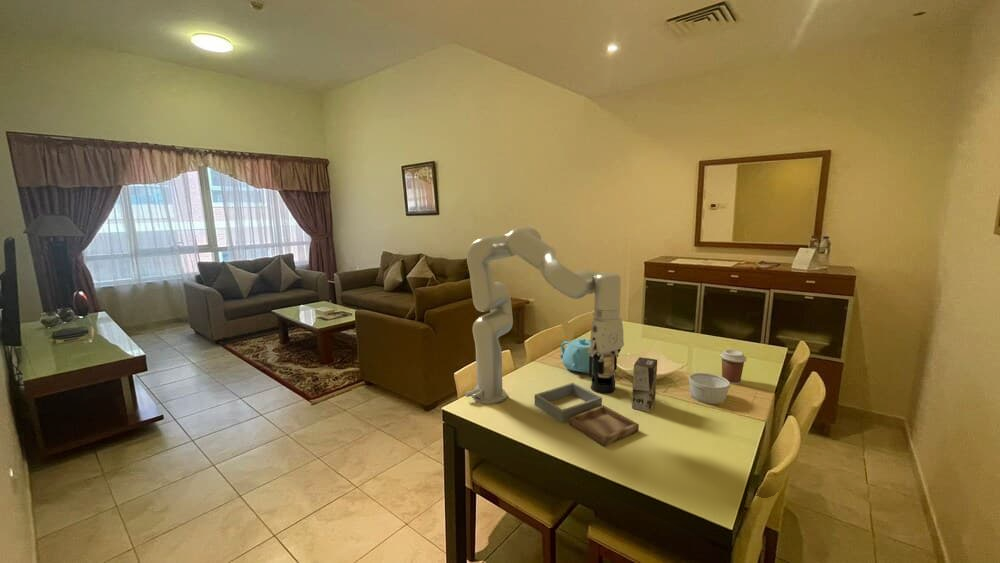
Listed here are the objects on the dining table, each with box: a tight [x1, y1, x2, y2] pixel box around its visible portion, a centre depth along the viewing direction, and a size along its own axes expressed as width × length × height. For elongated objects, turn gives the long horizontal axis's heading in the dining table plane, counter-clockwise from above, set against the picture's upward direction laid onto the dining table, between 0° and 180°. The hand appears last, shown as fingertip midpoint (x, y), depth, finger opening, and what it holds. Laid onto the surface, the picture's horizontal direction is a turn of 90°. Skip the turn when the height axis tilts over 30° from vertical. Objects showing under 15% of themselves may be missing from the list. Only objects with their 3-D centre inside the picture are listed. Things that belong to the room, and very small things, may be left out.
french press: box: [588, 350, 617, 395], centre depth 155 cm, size 12×9×23 cm
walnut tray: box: [569, 404, 640, 448], centre depth 128 cm, size 15×15×2 cm
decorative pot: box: [559, 337, 593, 374], centre depth 176 cm, size 16×16×14 cm
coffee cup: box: [719, 348, 748, 385], centre depth 160 cm, size 9×9×12 cm
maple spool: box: [598, 352, 614, 376], centre depth 125 cm, size 5×5×6 cm
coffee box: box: [631, 356, 658, 413], centre depth 142 cm, size 9×6×16 cm
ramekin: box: [688, 372, 731, 405], centre depth 147 cm, size 13×13×7 cm
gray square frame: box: [534, 382, 603, 424], centre depth 143 cm, size 18×15×4 cm
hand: (605, 370), depth 125 cm, fingers closed on maple spool, 4 cm apart
